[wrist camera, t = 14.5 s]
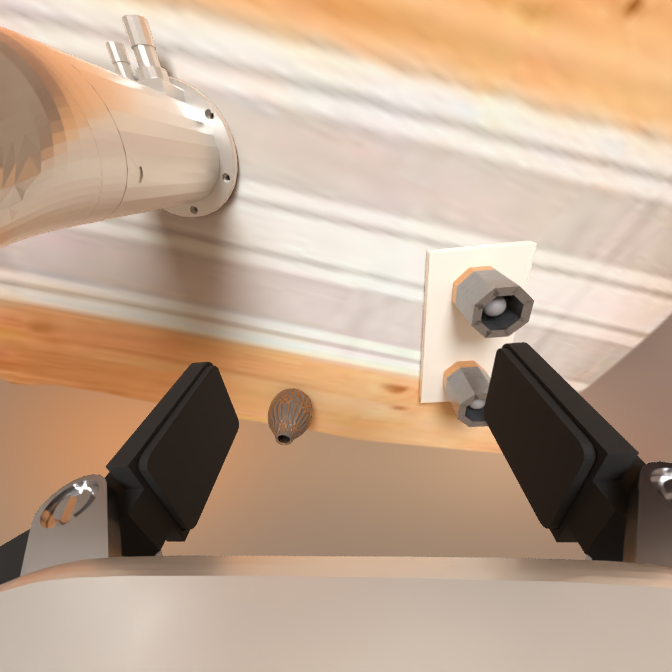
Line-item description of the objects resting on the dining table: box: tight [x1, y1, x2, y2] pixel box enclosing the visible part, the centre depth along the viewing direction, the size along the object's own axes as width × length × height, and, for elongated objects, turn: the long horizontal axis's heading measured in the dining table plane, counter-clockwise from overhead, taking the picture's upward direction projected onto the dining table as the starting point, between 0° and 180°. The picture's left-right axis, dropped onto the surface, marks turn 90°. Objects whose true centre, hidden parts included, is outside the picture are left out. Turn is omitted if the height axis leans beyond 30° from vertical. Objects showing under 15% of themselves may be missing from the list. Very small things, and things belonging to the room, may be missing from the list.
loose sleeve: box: [451, 266, 534, 338], centre depth 32 cm, size 6×6×7 cm
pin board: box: [419, 241, 537, 409], centre depth 37 cm, size 24×12×8 cm, turn 6°
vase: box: [268, 389, 312, 445], centre depth 44 cm, size 7×7×9 cm
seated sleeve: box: [443, 360, 491, 427], centre depth 39 cm, size 6×6×7 cm
